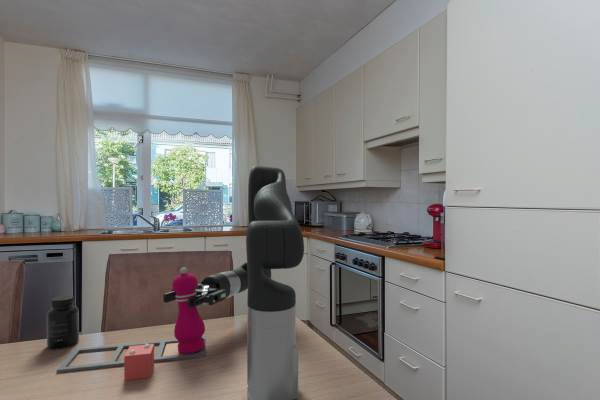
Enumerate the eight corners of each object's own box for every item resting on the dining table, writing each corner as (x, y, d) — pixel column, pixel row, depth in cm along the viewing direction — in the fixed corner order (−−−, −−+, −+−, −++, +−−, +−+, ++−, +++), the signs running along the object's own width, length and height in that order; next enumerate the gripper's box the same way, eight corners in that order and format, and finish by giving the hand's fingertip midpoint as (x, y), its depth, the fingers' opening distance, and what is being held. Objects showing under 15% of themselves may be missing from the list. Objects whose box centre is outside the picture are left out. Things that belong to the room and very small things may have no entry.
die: (154, 366, 77) (154, 341, 77) (150, 377, 72) (150, 350, 72) (129, 368, 76) (129, 343, 76) (124, 380, 71) (124, 353, 71)
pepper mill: (198, 354, 80) (189, 268, 81) (170, 355, 82) (161, 271, 83) (211, 342, 88) (203, 263, 89) (185, 343, 89) (178, 266, 90)
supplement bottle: (52, 340, 91) (52, 295, 91) (82, 337, 93) (82, 293, 93) (41, 351, 85) (41, 302, 85) (74, 347, 87) (74, 300, 87)
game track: (204, 338, 92) (204, 336, 92) (204, 356, 82) (204, 354, 82) (75, 351, 85) (75, 348, 85) (56, 372, 74) (56, 370, 74)
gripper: (202, 270, 102) (156, 282, 88) (241, 275, 95) (198, 289, 81) (202, 296, 102) (156, 311, 88) (241, 303, 95) (198, 321, 81)
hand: (176, 300), depth 84 cm, fingers open, 8 cm apart
